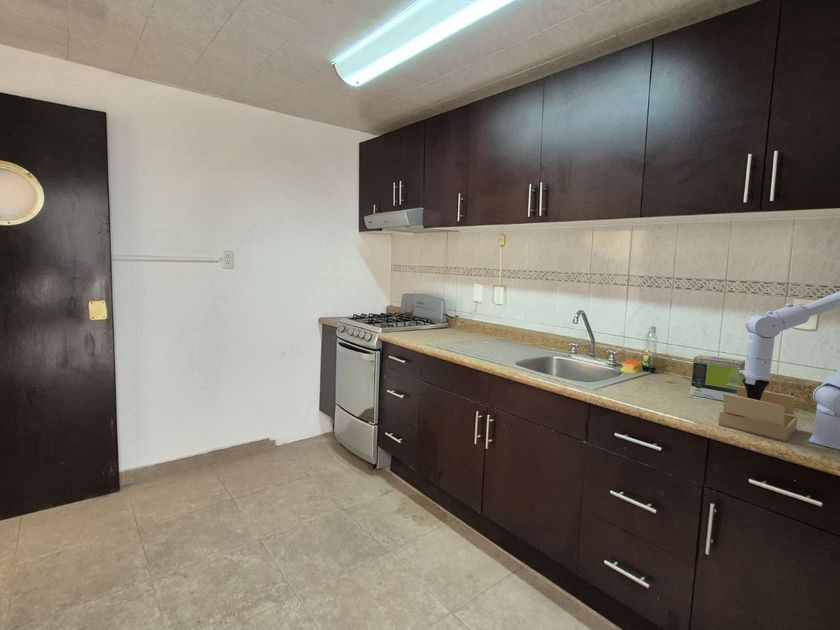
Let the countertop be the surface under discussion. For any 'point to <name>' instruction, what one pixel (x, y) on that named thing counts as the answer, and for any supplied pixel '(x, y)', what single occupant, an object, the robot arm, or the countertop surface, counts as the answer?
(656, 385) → the countertop surface
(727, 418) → the carton
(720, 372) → the tea box
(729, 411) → the flap
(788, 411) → the flap
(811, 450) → the countertop surface
